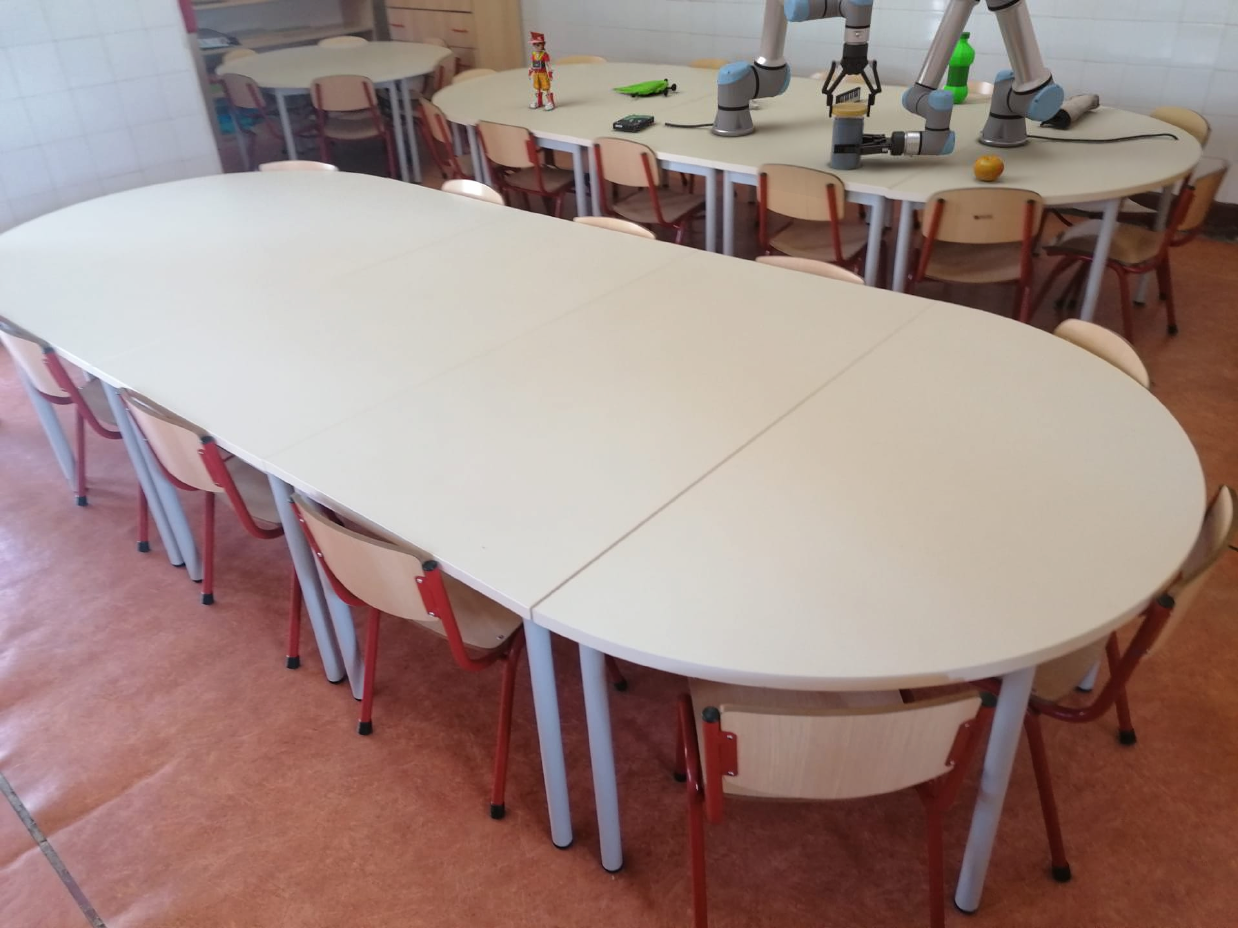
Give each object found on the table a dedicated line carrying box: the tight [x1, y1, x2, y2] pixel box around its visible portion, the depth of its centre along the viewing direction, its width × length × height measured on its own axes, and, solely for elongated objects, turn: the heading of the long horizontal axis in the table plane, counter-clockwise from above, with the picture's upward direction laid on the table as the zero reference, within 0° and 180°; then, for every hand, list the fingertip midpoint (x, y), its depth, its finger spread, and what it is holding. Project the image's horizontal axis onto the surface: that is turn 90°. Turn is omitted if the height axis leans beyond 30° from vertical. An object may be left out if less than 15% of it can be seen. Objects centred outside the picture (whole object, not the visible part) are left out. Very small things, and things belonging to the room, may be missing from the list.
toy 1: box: [527, 31, 556, 111], centre depth 374 cm, size 12×9×30 cm
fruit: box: [973, 154, 1005, 182], centre depth 274 cm, size 8×8×8 cm
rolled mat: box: [1039, 93, 1101, 130], centre depth 325 cm, size 30×9×10 cm
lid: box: [832, 102, 868, 117], centre depth 286 cm, size 11×11×2 cm
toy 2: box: [612, 78, 677, 99], centre depth 396 cm, size 28×5×30 cm
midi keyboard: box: [834, 86, 862, 105], centre depth 359 cm, size 18×1×5 cm, turn 138°
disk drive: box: [612, 114, 655, 133], centre depth 348 cm, size 10×3×15 cm
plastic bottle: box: [942, 31, 976, 104], centre depth 348 cm, size 10×10×25 cm
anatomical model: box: [749, 99, 760, 109], centre depth 364 cm, size 15×10×10 cm
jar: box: [829, 115, 866, 170], centre depth 292 cm, size 10×10×15 cm
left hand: (848, 116), depth 287 cm, fingers closed on lid, 11 cm apart
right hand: (833, 144), depth 293 cm, fingers closed on jar, 10 cm apart
